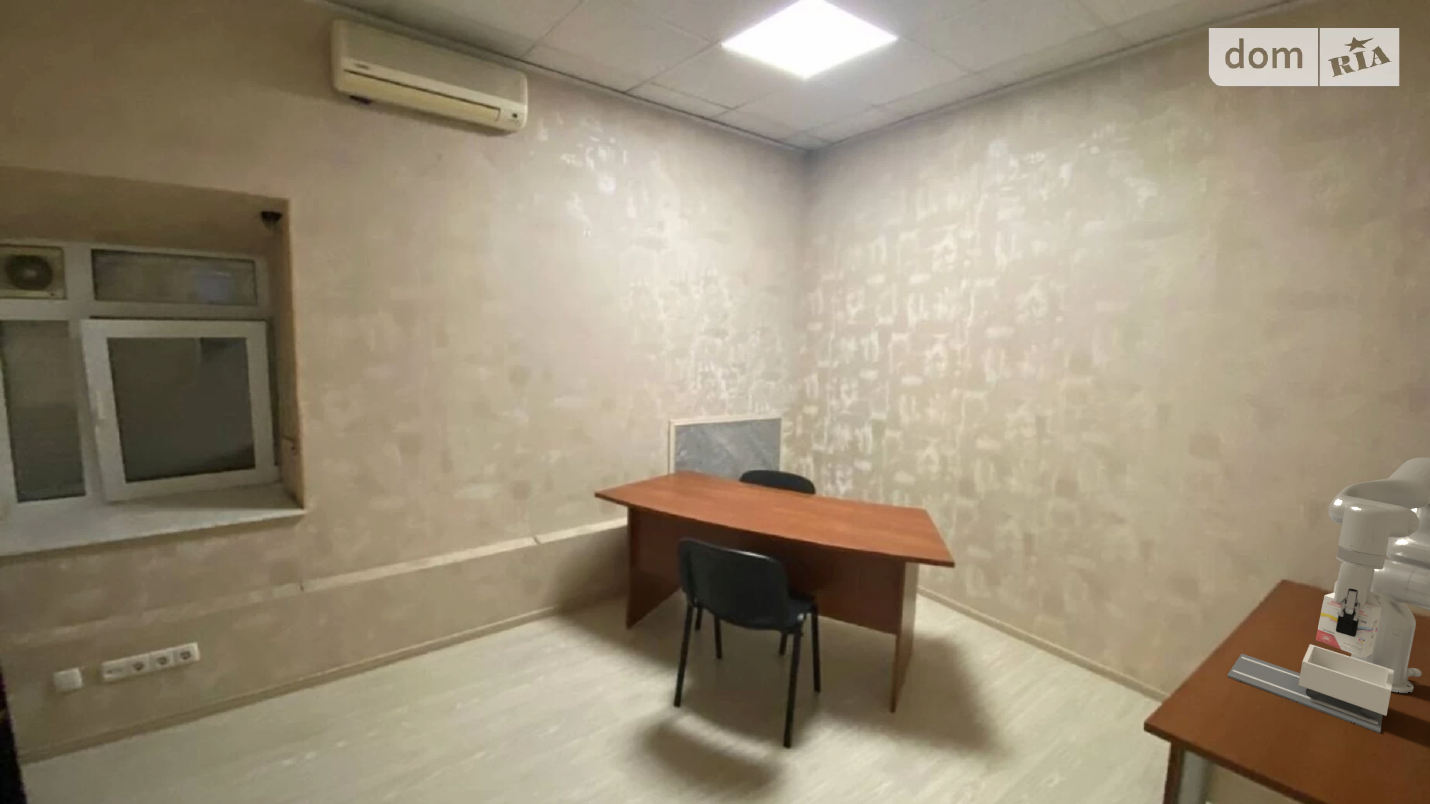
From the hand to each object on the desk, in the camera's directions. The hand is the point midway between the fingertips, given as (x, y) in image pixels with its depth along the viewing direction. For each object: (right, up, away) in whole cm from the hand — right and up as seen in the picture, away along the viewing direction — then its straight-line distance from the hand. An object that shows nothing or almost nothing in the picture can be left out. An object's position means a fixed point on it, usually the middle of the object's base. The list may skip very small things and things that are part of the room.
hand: (1346, 629), depth 138 cm
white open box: (0, -17, +1) cm, 17 cm away
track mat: (-4, -17, +6) cm, 19 cm away
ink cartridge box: (0, -5, +1) cm, 5 cm away
